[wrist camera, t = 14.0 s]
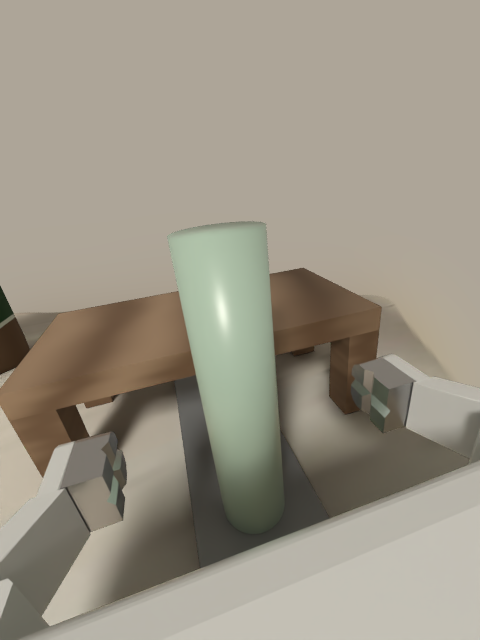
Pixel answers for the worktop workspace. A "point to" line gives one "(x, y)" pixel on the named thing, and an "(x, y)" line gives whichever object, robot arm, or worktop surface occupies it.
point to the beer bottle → (10, 338)
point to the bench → (169, 354)
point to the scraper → (234, 396)
